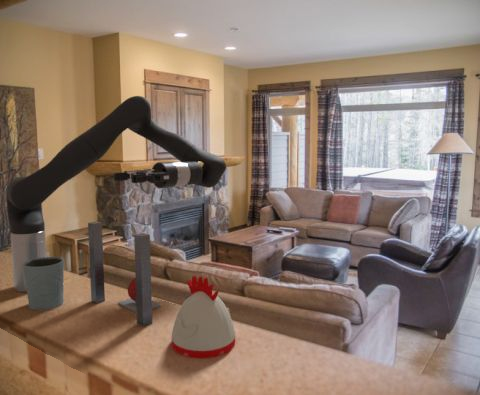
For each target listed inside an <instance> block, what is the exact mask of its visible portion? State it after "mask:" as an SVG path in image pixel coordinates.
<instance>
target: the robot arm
mask: <svg viewBox="0 0 480 395" xmlns="http://www.w3.org/2000/svg"><path fill="white" fill-rule="evenodd" d="M127 129H128V130H130V131H131V132H132V133H135V134H136V135H139V136H141V137H143V138H144V139H146V140H148V141H149V142H151V143H153V144H155V145H156V146H159V147H160V148H161V149H163V150H165V151H166V152H167V153H169V154H170V155H171V156H172V157H174V158H175V159H177V160H178V161H164V162H163V161H162V162H161V161H159V162H156V163H155V164H153V166H152V169H150V168H144V169H134V170H124V171H123V172H114V173H113V180H114V181H116V182H122V181H127V182H129V181H131V183H132V184H142V183H143V184H144V183H145V184H150V185H151V184H153V185H154V187H156V188H158V189H168V188H177V187H179V188H180V187H183V186H189V185H195V186H200V187H204V188H214V187H215V186H216V185H217V184H218V183H219V182H220V180H221V178H222V177H223V175H224V173H225V171H226V169H227V164H226V162H225V160H224V159H223V158H222V157H221V156H218V155H216V154H214V153H211V152H209V151H206V150H204V149H202V148H199V147H198V146H196V145H195V144H194V143H193V142H191V141H190V140H188V139H187V138H186V137H184V136H181V135H180V134H178V133H174V132H171V131H169V130H167V129H164V128H163V127H161V126H160V125H159V124H158V123H157V122H156V121H155V120H154V119H153V118H152V108H151V104H150V101H149V100H148V99H147V98H146V97H143V96H140V95H134V96H131V97H128V98H127V99H124V101H123V102H121V103H120V104H119V105H118V106H117V107H116V108H115V109H114V110H112V111H111V112H110V113H109V114H107V116H106V117H104V118H103V119H101V120H100V121H98V122H97V123H95V124H94V125H92V126H91V127H90V128H89V129H87V130H86V131H84V132H83V133H81V134H79V135H78V136H76V137H75V138H74V139H72V140H71V141H69V142H68V143H67V144H66V145H65V146H64V147H62V149H60V151H58V153H57V154H56V155H55V156H53V158H52V159H51V160H49V162H48V163H47V164H45V165H44V166H43V167H41V168H39V169H38V170H36V171H35V172H33V173H32V174H30V175H27V176H19V177H15V178H14V179H13V180H11V181H10V182H8V185H7V187H6V205H7V206H6V207H7V218H8V225H9V231H10V244H11V245H10V246H11V257H12V258H11V259H12V260H11V261H12V272H13V273H12V275H13V286H14V287H13V288H14V290H15V291H16V292H20V293H23V292H24V293H25V292H26V293H27V287H26V283H25V276H24V270H23V263H24V262H26V261H28V260H32V259H36V258H43V257H47V247H46V246H47V245H46V244H47V243H46V241H47V240H46V230H45V229H46V227H45V226H46V225H45V220H44V216H43V211H42V204H43V203H44V202H45V201H46V200H47V199H49V197H50V196H52V195H53V194H54V192H56V191H57V190H58V189H59V188H60V187H61V186H63V185H64V184H65V183H67V182H68V181H70V180H72V179H73V178H74V177H76V176H78V175H79V174H80V173H82V172H83V171H85V170H86V169H88V168H90V167H91V166H92V165H93V164H95V163H96V162H98V160H100V159H101V158H103V157H104V156H105V154H107V152H108V151H109V150H110V149H111V147H112V145H114V143H115V141H116V140H117V139H118V137H119V136H120V135H121V134H122V133H123V132H125V131H127ZM199 162H201V163H203V164H202V165H201V164H200V163H199Z"/></svg>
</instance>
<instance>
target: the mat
mask: <svg viewBox="0 0 480 395" xmlns="http://www.w3.org/2000/svg"><path fill="white" fill-rule="evenodd" d="M117 304H118V305H119V306H121V307H123V308H126V309H128V310H130V311H132V312H134V313H136V314H137V308H136V302H135V301H134V300H132V299H131V298H130V297H129V298H127V299H124V300H121V301H118V302H117ZM160 307H162V304H161V303H159V302H156V301H154V300H152V310H155V309H157V308H160Z"/></svg>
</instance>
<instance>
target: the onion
mask: <svg viewBox="0 0 480 395" xmlns="http://www.w3.org/2000/svg"><path fill="white" fill-rule="evenodd" d="M127 286H128V287H127V294H128V297H129V299H130V298H131V299H132V300H134V301H135V302H136V277H134V278H133V279H132V280H131V281H130V283H129V285H127Z"/></svg>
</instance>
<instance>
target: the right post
mask: <svg viewBox="0 0 480 395" xmlns="http://www.w3.org/2000/svg"><path fill="white" fill-rule="evenodd" d="M133 235H134V237H133V238H134V241H133V242H134V268H135V278H136V308H137V313H136V324H137V325H139V326H141V327H142V328H143V327H146V326H149V325H152V324H153V309H152V301H153V299H152V298H153V297H152V268H151V266H152V264H151V263H152V262H151V235H150V234H148V233H144V232H141V233H137V234H133Z"/></svg>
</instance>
